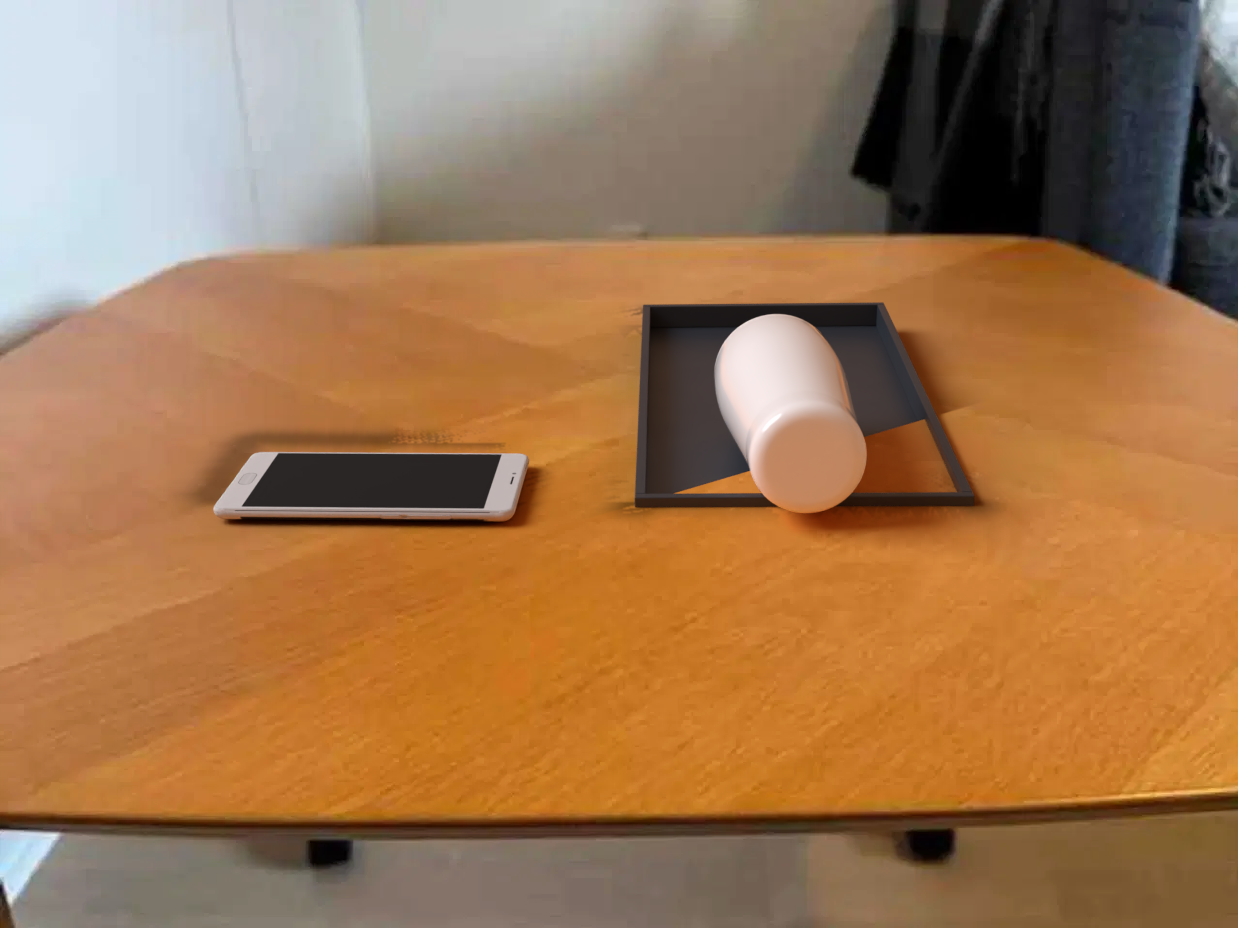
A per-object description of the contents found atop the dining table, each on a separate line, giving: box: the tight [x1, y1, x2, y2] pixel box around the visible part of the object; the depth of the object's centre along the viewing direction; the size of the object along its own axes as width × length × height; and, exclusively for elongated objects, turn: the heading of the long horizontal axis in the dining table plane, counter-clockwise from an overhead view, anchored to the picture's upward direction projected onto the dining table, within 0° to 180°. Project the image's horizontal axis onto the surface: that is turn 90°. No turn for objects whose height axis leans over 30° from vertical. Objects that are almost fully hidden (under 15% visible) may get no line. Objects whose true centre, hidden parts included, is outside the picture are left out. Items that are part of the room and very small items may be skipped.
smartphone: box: [212, 451, 530, 522], centre depth 75 cm, size 8×1×15 cm
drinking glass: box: [714, 314, 868, 514], centre depth 73 cm, size 7×7×15 cm
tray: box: [634, 301, 975, 509], centre depth 84 cm, size 31×16×2 cm, turn 178°
